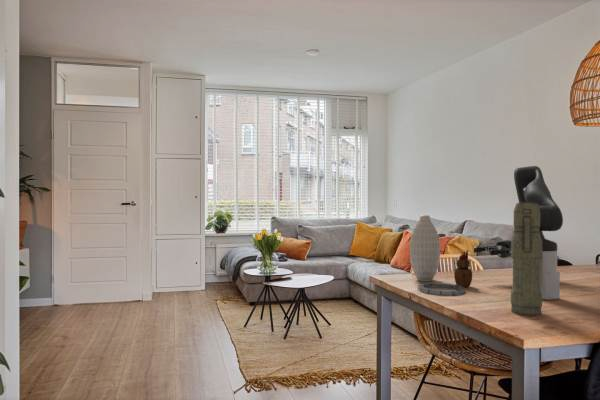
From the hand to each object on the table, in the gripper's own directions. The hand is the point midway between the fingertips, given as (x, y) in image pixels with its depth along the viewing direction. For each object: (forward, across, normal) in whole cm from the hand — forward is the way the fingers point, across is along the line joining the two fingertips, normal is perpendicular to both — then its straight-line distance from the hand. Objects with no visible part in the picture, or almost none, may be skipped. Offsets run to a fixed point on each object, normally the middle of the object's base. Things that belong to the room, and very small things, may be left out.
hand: (482, 251), depth 198 cm
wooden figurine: (+12, 0, +14) cm, 18 cm away
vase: (+16, -18, +14) cm, 27 cm away
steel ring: (+26, +2, +13) cm, 29 cm away
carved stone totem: (+27, +40, +13) cm, 50 cm away
